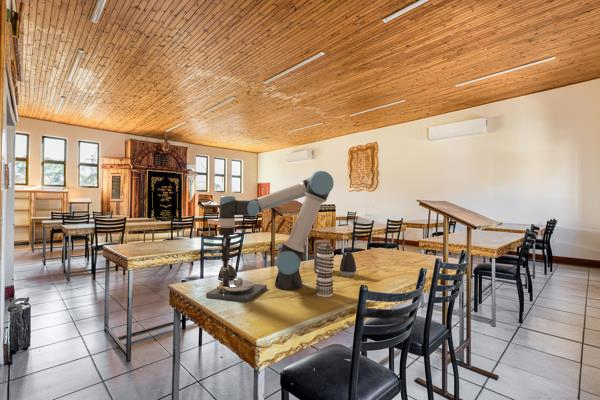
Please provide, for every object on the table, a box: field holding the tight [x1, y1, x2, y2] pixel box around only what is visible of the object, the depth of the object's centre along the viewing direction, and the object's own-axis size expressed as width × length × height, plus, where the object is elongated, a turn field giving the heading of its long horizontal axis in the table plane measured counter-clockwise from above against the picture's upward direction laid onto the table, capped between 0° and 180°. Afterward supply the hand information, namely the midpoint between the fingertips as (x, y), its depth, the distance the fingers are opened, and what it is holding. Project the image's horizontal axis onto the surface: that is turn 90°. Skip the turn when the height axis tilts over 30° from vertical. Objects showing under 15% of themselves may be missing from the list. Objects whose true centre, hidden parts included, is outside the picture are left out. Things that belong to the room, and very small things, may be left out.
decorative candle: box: [315, 243, 335, 298], centre depth 148 cm, size 9×9×25 cm
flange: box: [215, 269, 255, 292], centre depth 149 cm, size 18×16×9 cm
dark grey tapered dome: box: [339, 251, 357, 278], centre depth 185 cm, size 10×10×15 cm
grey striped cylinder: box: [313, 239, 331, 273], centre depth 197 cm, size 10×10×20 cm
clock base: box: [205, 281, 268, 303], centre depth 149 cm, size 22×22×7 cm
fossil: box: [217, 263, 238, 281], centre depth 176 cm, size 11×9×10 cm
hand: (225, 273), depth 149 cm, fingers closed
